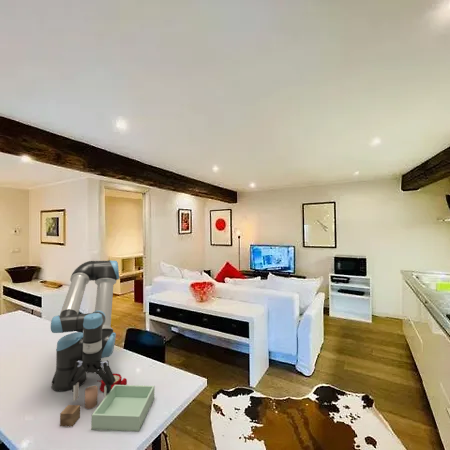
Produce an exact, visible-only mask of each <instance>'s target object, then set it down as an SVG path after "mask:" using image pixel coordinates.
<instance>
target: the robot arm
mask: <svg viewBox="0 0 450 450" xmlns="http://www.w3.org/2000/svg"><path fill="white" fill-rule="evenodd" d="M119 271H120V270H119V262H118V261H117V260H110V259H109V260H89V261H85V262H83V263H81V264H80V265H79V266H77V267H76V268H75V269H74V271H73V272H72V273H71V276H70V279H69V281H70V285H69V286H68V290H67V293H66V296H65V299H64V302H63V305H62V308H61V311H60V314H59V315H55V316H53V317H52V319H51V322H50V332H51V333H53V334H63V333H69V334H66V335H63V336H62V337H61V338H59V339H58V340H57V342H56V348H55V349H56V350H55V351H56V357H55V359H56V360H55V361H56V363H55V365H56V366H55V372H54V375H53V377H52V380H51V390H53V391H55V392H67V391H70V390H71V393H72V394H73V395H72V402H76V400H78V398H79V396H80V394H79V393H80V390H79V389H80V386H82V385H83V384H84V383H85V382H86V380H87V377H88V376H87V374H89V373H91V374H95V375H97V376H98V377H99V378H100V379H101V380H102V381H103V382H104V383H105V384H106V385H105V386H104V392H103V393H104V394H103V399H104V398H105V397H106V395H107V394H108V393H109V392H110V391H111V385H112V384H113V383H114V382H115V378H114V375H113V374H114V373H113V371H112V368H111V367H110V363H109V360H108V359H107V360H106V361H102V359H105V358H110V357H111V356H112V355H113V354H114V349H115V343H116V337H117V333H116V332H114V328H112V327H111V325H112V314H113V313H112V311H113V310H112V309H113V294H114V285H116V284H117V281H118V280H120V272H119ZM90 281H91V282H92V281H93V282H94V283H95V285H96V297H95V304H94V305H95V306H94V311H93V312H91V313H89V312H88V313H79V312H80V310H81V309H80V308H81V305H82V301H83V298H84V295H85V291H86V287H87V285H88V284H89V282H90ZM82 331H83V332H82Z"/></svg>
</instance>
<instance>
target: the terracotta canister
mask: <svg viewBox="0 0 450 450" xmlns="http://www.w3.org/2000/svg"><path fill="white" fill-rule="evenodd" d="M98 391H99V387H98V386H97V385H91V386H88V387H86V388H85V390H84V409H86V410H90V409H94V408H96V407H98V399H99V397H98V396H99V393H98Z"/></svg>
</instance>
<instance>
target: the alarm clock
mask: <svg viewBox="0 0 450 450" xmlns="http://www.w3.org/2000/svg"><path fill="white" fill-rule="evenodd" d="M113 375H114V378H115V382H114V383H113V384H112V385H111V389H112V388H113V386H114V385H128V384H127V383H128V379H127V378H125V377H124V378H122V375H121V374H120V373H113ZM97 382H99V380H97ZM105 385H106V384H105V383H104V382H103V381H102V379H101V380H100V386H99V391H100V392H101V393H104V386H105Z"/></svg>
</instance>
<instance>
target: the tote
mask: <svg viewBox="0 0 450 450" xmlns="http://www.w3.org/2000/svg"><path fill="white" fill-rule="evenodd" d="M155 387H156V386H155V385H139V384H135V385H133V384H131V385H130V384H126V385H114V386H113V388H112V389H111V391H110V392H109V393H108V394H107V395H106V397H105V398H104V397H103V400H102V401H101V402H100V403H99V405H97V406H96V407H97V408H96V409H95V410H94V411H93V413H92V414H91V421H90V422H91V423H90V424H91V425H90V428H91V429H90V431H91V430H93V431H114V432H115V431H119V432H120V431H121V432H140V430H141V428H142V426H143V424H144V422H145V420H146V417H147V415H148V412H149V410H150V409H151V407H152V404H153V402H154V400H155V393H156V392H155Z"/></svg>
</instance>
